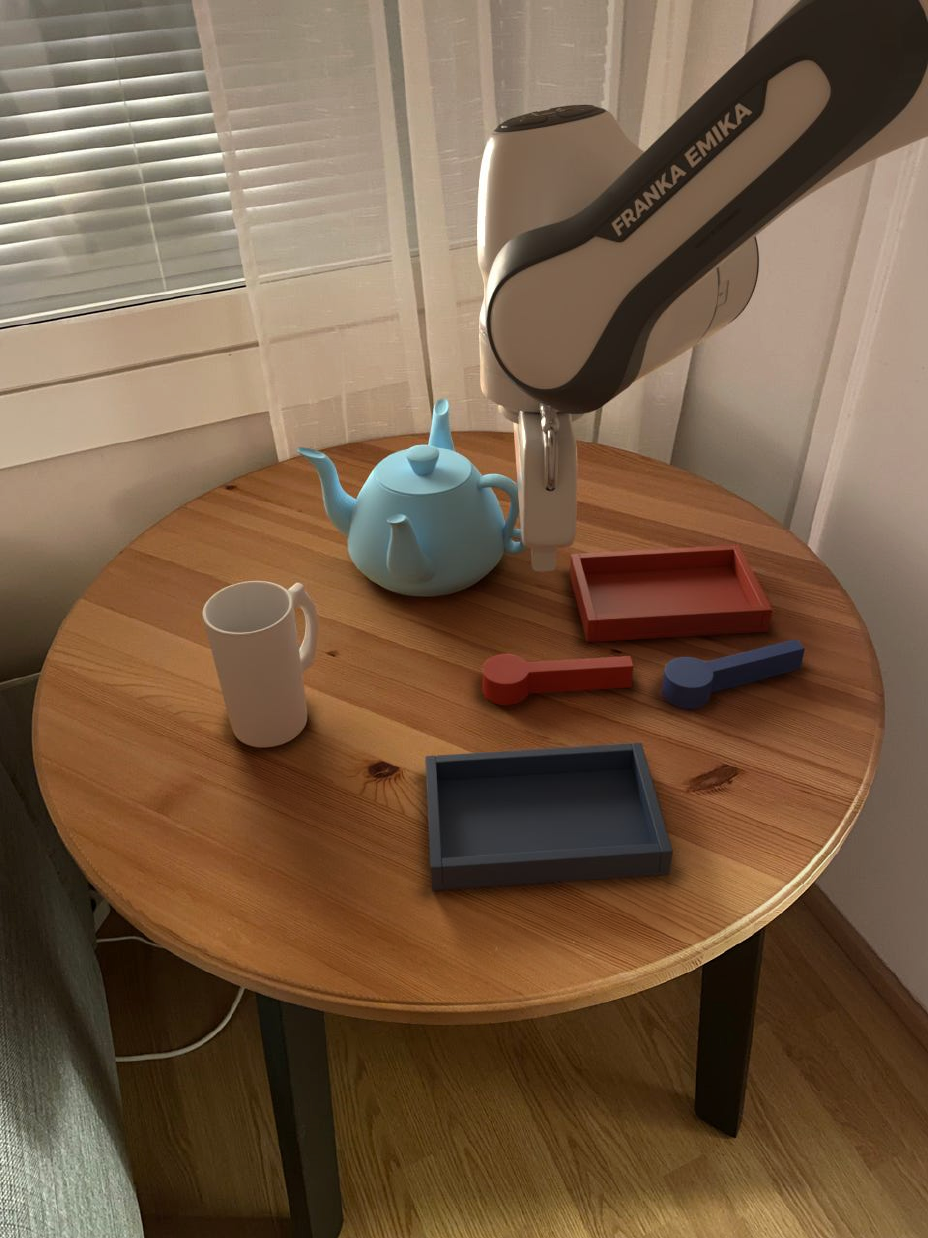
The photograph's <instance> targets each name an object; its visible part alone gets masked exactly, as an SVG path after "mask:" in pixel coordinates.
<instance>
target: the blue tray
mask: <svg viewBox="0 0 928 1238" xmlns="http://www.w3.org/2000/svg"><path fill="white" fill-rule="evenodd" d="M424 759H425V760H424V761H425V781H426V800H427V822H428V823H427V824H428V845H429V864H430V865H429V866H430V881H431V883H430V884H431V890H432V892H433V891H448V890H450V891H451V890H463V889H477V888H491V887H492V888H493V887H506V886H508V887H509V886H522V885H524V886H525V885H537V884H551V883H553V884H554V883H565V882H567V883H568V882H581V881H595V880H610V879H624V878H625V879H626V878H641V877H653V876H667V875H668V876H669V875H670V874H671V873H670V872H671V866H672V859H673V848H672V844H671V840H670V837H669V833H668V830H667V827H666V823H665V820H664V816H663V812H662V810H661V805H660V803H659V799H658V795H657V791H656V788H655V785H654V782H653V778H652V774H651V771H650V768H649V764H648V760H647V757H646V754H645V750H644V747H643V743H642V742H631V743H630V742H629V743H613V744H597V745H579V746H565V747H563V746H562V747H549V748H535V749H534V748H533V749H518V750H503V751H501V750H499V751H486V752H484V751H483V752H470V753H469V752H467V753H454V754H453V753H452V754H439V755H426V756H425V757H424Z"/></svg>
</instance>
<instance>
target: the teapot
mask: <svg viewBox="0 0 928 1238" xmlns="http://www.w3.org/2000/svg"><path fill="white" fill-rule="evenodd" d="M450 425H451V423H450V404H449V400H448V399H446V398H439V399H438V400H436V402H435V404H434V406H433V411H432V421H431V427H430V433H429V439H428V444H417V445H413V446H410V447H409V448H406V449H402V450H398V451H395V452H394V453H391V454H389V455H387V456H386V457H384V458H383V459H382V460H381V461H379V462H378V464H376V466H375V467H374V469H373V470H372V471H371V473H370V474H369V476H368V478H367V479H366V481H365V482H364V484H363V486H362V488H361V489H360V491H359V493H358V495H357V497H356V498H354V497H353V496H351V495H349V494H348V493H347V492H346V491H345V490H344V488H343V487H342V485H341V482H340V479H339V475H338V471H337V468H336V466H335V464H334V462H333V461H332V459H330V457H329V456H328V455H326V454H325V453H323V452H322V451H319V450H317V449H314V448H309V447H303V446H302V447H301V446H300V447H297V448H296V451H297V453H299V454H300V455H301V456H302V457H303V458H305V459H306V460H307V461H308V462H310V464H311V465H312V466H313V468H314V469H315V470H316V472H317V475H318V477H319V481H320V485H321V492H322V500H323V506H324V510H325V512H326V516H327V518H328V520H329V521H330V523H331V525H333V526H334V528H335V529H336V530H337V531H338V532H340V533H341V534H343V535H344V536H345V537H346V538H347V540H346V541H347V550H348V554H349V557H350V560H351V561H352V563H353V565H354V566H355V567H356V569H357V570H358V571H359V572H360V573H361V574H362V575H364V576H365V577H366V578H368V579H369V580H370V581H371V582H373V583H375V584H377V585H379V586H380V587H381V588H383V589H384V590H387V591H390V592H392V593H396V594H400V595H405V596H411V597H426V598H427V597H437V596H438V597H439V596H446V595H450V594H454V593H457V592H460V591H463V590H465V589H468V588H469V587H471V586H473V585H475V584H477V583H478V582H479V581H481V580H482V579H483V578H485V577H486V576H487V575H488V574H489V573H490V572H492V570H493V569H495V567H496V566H497V565H498V563H499V562H500V561H501V559H502V557H503V556H504V553H506V554H509V555H519V554H522V553H524V552H525V551H527V549H528V547H526V546H525V545H524V544H523V541H522V535H521V528H515V527H516V524H517V521H518V518H519V517H520V510H519V496H518V483H516V482H515V481H514V480H513V479H511V478H510V477H508V476H506V475H503V474H500V473H487V474H482V473H481V472H480V470H478V468H477V467H476V466H475V465H474V464H473V463H472V462H471V460H469V459H468V458H467V457H466V456H464V455H463V454H461V453H459V452H457V451H456V448H455V445H454V440H453V437H452V433H451V426H450ZM492 488H495V489H499V490H501V491H504V492H505V493H506V494H507V495H508V496H509V498H510V505H509V506H510V507H509V512H508V515H507V517H506V520H505V515H504V513H503V510H502V506H501V504H500V501H499V500H498V498H497V495H496V493H495V492H494V491H493V489H492ZM512 538H515V539H517V540H519V541H515V540H513V539H512Z"/></svg>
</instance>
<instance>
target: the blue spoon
mask: <svg viewBox="0 0 928 1238" xmlns="http://www.w3.org/2000/svg"><path fill="white" fill-rule="evenodd" d="M805 651H806V647H804V646H803V644H801V643H800V641H798V639H795V638H794V639H791V640H786V641H783V642H779V643H775V644H771V645H767V646H763V647H759V648H755V649H751V650H747V651H743V652H739V653H735V654H731V655H727V656H725V657H724V656H722V657H719V658H715V659H712V660H708V661H704V660H702V659H699V658H697V657H692V656H679V657H676V658H673V659H671V660H670V661H668V662H667V663H666V665H665V667H664V671H663V678H662V679H663V680H662V687H661V693H662V694H661V695H662V697H663V698H664V699H665V700H666V702H667V703H669V704H670V705H672V706H674V707H675V708H678V709H683V710H695V709H699V708H701V707H704V706H705V705H706V704H708V702H709V701H710V699H711V693H716V692H719V691H723V690H727V689H730V688H735V687H739V686H743V685H747V684H750V683H754V682H758V681H761V680H765V679H766V680H767V679H769V678H773V677H777V676H781V675H784V674H785V675H786V674H789V673H792V672H796V671H799V670H801V668H802V664H803V659H804V654H805Z"/></svg>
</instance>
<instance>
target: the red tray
mask: <svg viewBox="0 0 928 1238" xmlns="http://www.w3.org/2000/svg"><path fill="white" fill-rule="evenodd" d="M569 577H570V581H571V585H572V589H573V593H574V597H575V600H576V605H577V608H578V613H579V617H580V620H581V624H582V628H583V632H584V636H585V641H586V642H587V643H596V642H597V643H598V642H613V641H614V642H615V641H631V640H647V639H648V640H649V639H663V638H679V637H680V638H681V637H683V638H684V637H697V636H698V637H699V636H713V635H715V636H716V635H730V634H731V635H732V634H748V633H765V632H769V629H770V625H771V620H772V615H773V608H772V606H771V603H770V602H769V600H768V598H767V596H766V594H765V592H764V590H763V588H762V586H761V583H760V582H759V580H758V578H757V575H756V574H755V572H754V571H753V569H752V566H751V565H750V563H749V560H748V559H747V557H746V555H745V553H744V551H743V548H742V546H741V544H728V545H727V544H726V545H724V544H723V545H710V546H709V545H708V546H693V547H674V548H673V547H672V548H654V549H638V550H636V549H635V550H620V551H605V552H604V551H602V552H585V553H583V552H581V553H570V564H569Z"/></svg>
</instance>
